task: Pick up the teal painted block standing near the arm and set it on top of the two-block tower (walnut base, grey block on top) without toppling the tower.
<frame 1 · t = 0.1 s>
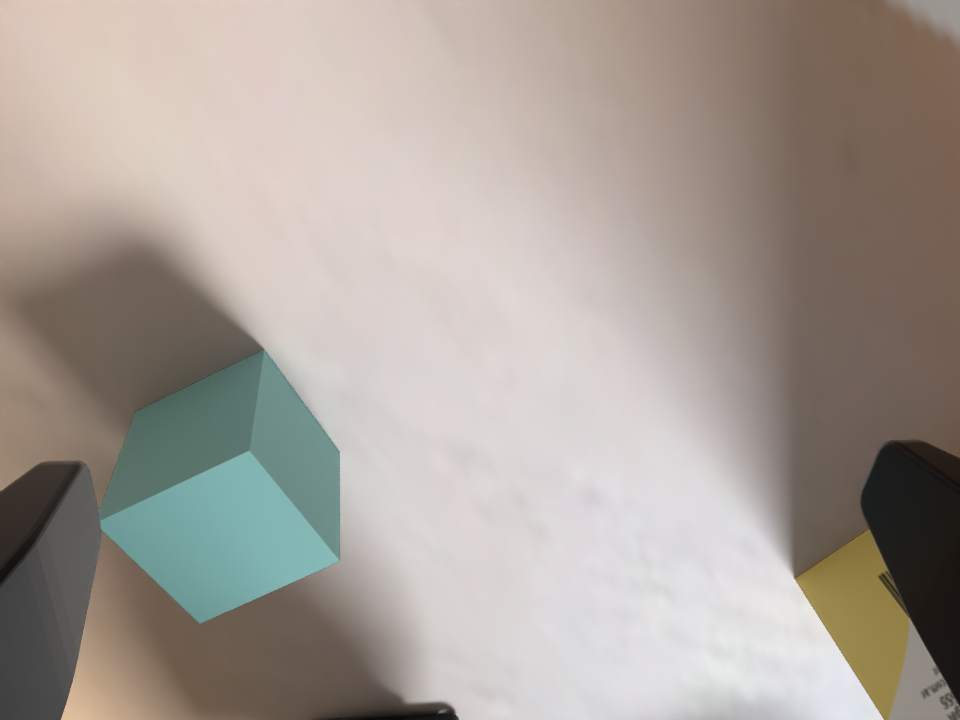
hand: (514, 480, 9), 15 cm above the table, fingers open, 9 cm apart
teal block: (241, 431, 26), on the table
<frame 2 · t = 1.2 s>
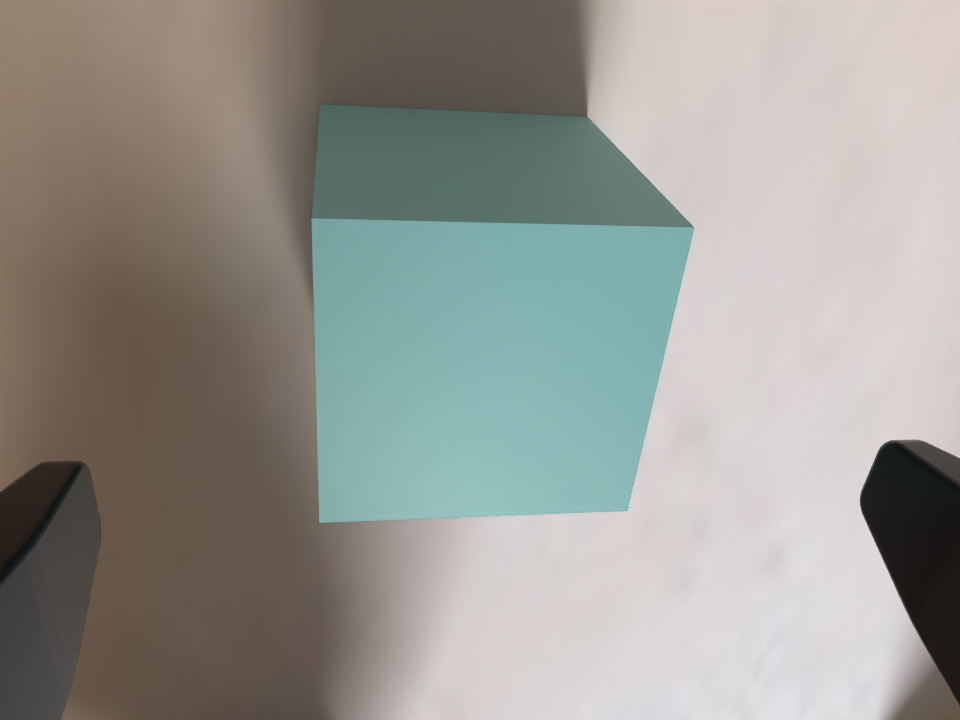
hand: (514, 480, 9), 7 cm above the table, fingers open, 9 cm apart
teal block: (448, 234, 15), on the table
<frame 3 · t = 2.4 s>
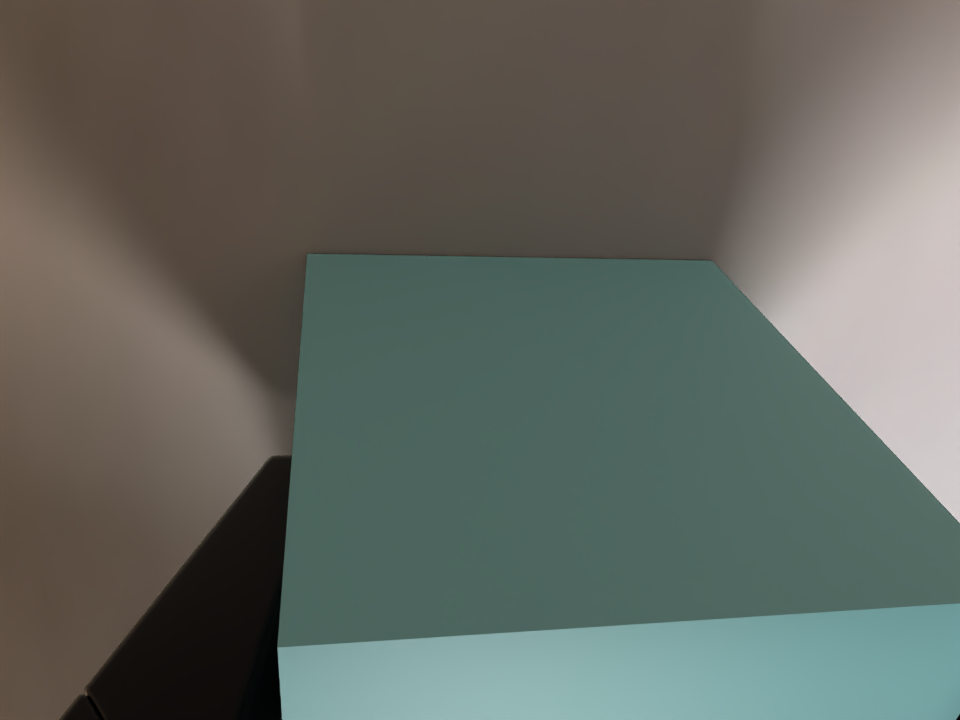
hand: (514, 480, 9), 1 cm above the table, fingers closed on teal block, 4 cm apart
teal block: (498, 425, 10), on the table, touching gripper
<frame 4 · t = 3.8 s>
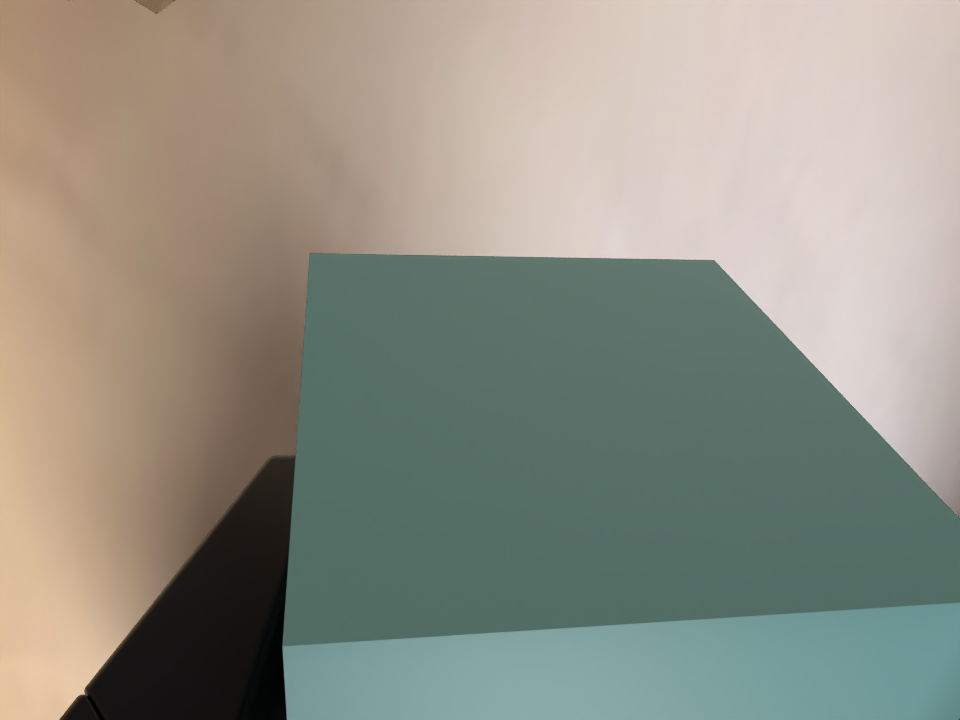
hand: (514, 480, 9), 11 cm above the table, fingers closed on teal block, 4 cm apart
teal block: (500, 425, 10), point 10 cm above the table, touching gripper
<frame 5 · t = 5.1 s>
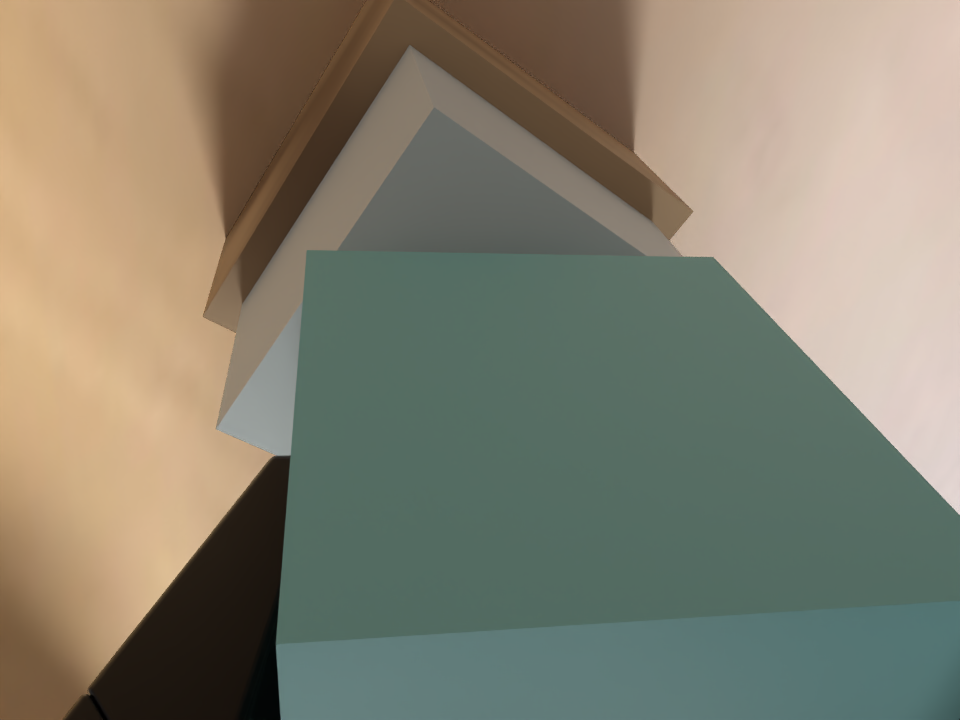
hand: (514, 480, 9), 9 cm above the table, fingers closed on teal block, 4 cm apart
grey block: (449, 262, 14), point 3 cm above the table
walnut block: (430, 191, 17), on the table
teal block: (498, 423, 10), point 8 cm above the table, touching gripper
when the fingers open (9 cm above the table, at t = 5.2 s): teal block drops 1 cm, resting on grey block.
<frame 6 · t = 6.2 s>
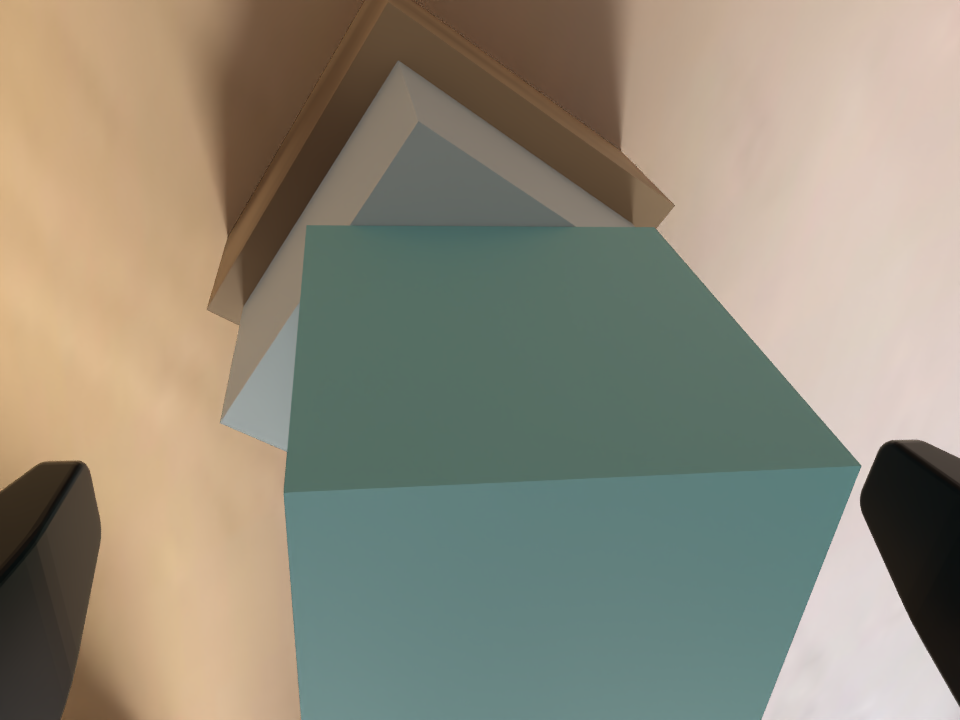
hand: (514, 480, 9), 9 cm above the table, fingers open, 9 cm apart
grey block: (440, 264, 14), point 3 cm above the table, touching teal block, walnut block
walnut block: (425, 189, 17), on the table, touching grey block
teal block: (475, 375, 11), point 7 cm above the table, touching grey block
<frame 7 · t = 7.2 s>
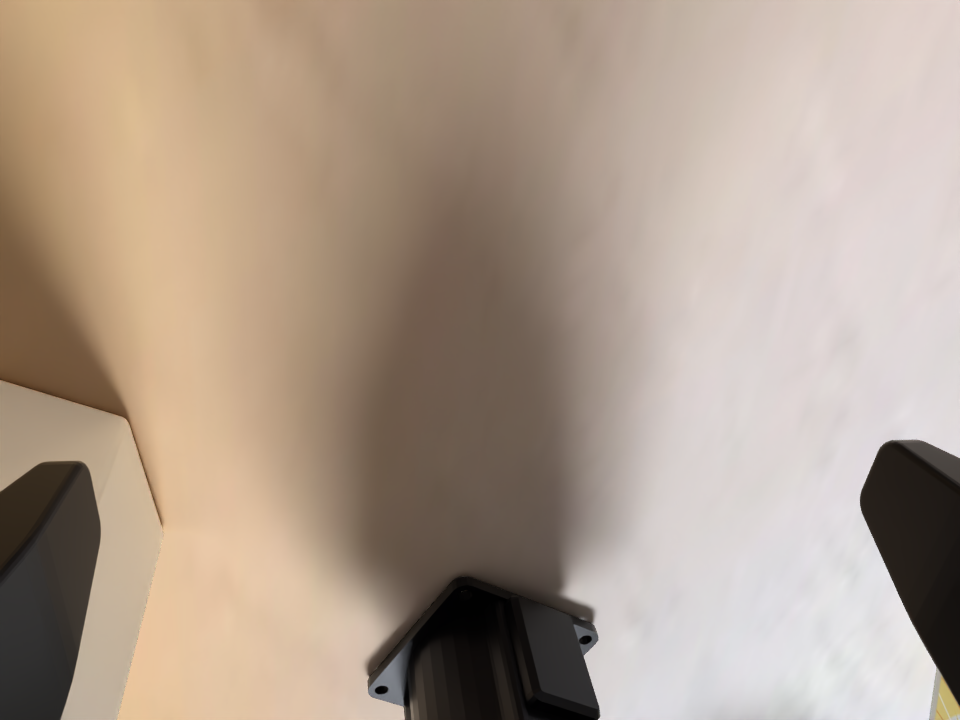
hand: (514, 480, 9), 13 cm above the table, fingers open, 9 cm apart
jar: (12, 486, 24), on the table
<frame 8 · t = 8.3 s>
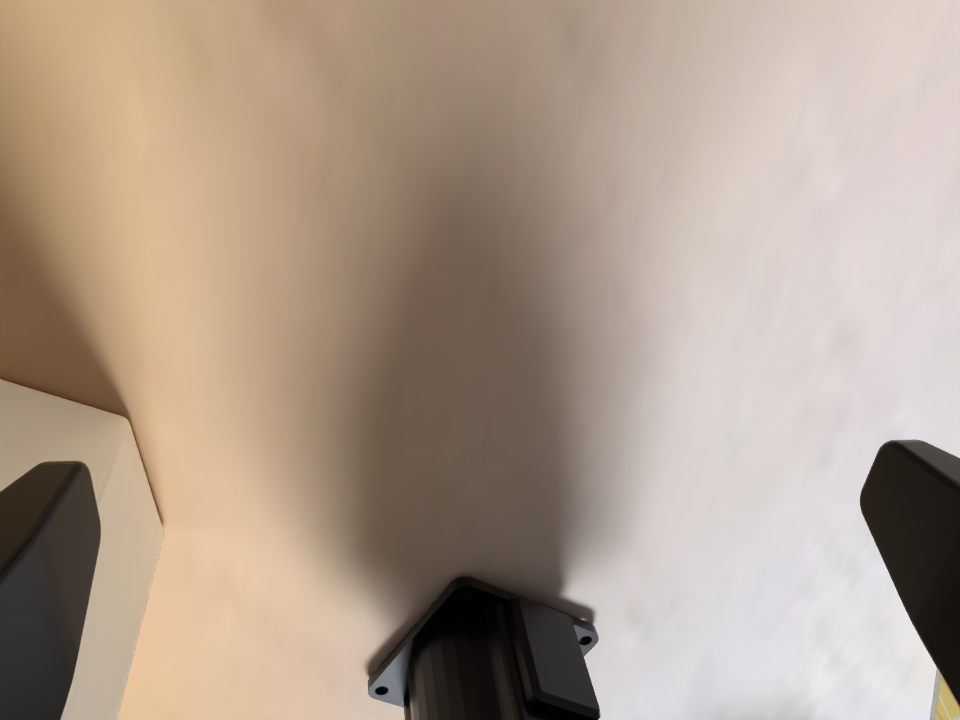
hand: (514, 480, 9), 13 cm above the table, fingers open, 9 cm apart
jar: (13, 486, 24), on the table
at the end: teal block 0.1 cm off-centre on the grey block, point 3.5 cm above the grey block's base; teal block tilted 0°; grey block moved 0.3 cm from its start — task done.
